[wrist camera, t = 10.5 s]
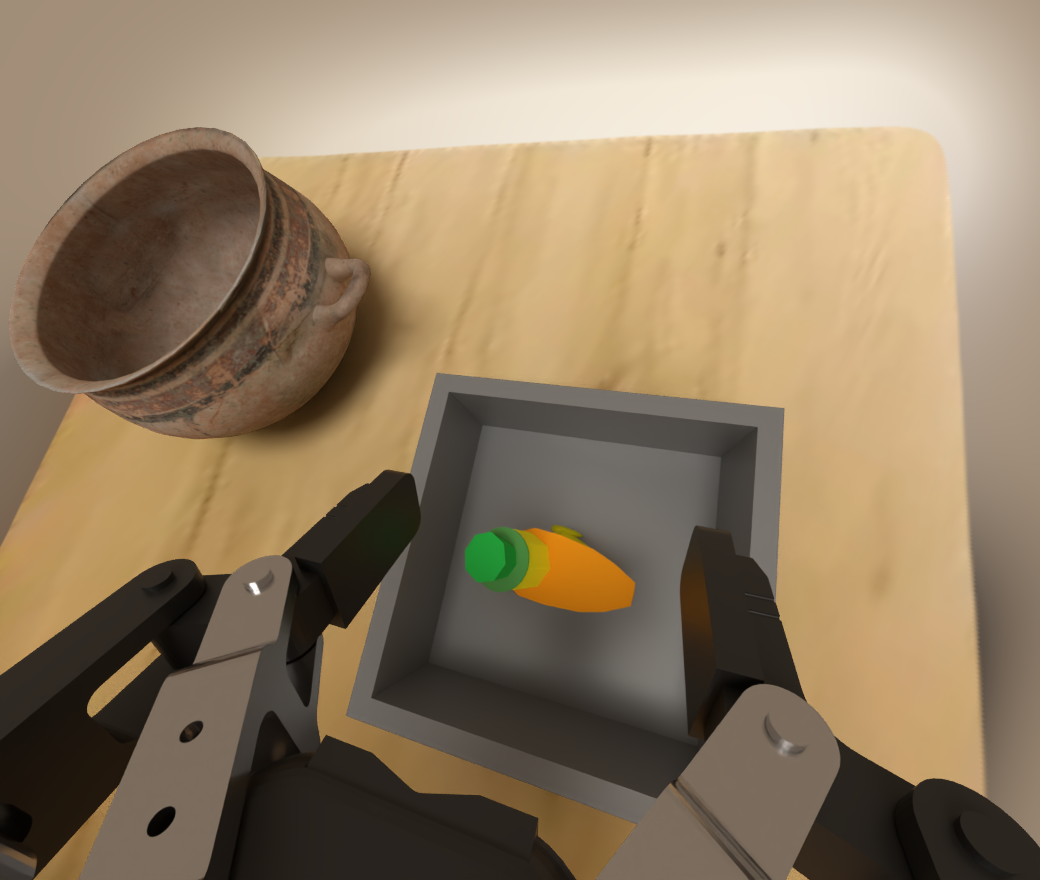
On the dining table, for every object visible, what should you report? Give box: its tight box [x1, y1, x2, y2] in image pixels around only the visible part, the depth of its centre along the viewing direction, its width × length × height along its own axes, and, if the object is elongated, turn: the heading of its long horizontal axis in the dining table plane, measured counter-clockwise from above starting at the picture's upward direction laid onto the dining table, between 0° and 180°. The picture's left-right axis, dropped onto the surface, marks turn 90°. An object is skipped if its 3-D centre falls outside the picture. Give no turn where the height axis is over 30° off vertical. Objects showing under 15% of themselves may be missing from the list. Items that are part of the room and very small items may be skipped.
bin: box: [346, 373, 784, 824], centre depth 21 cm, size 17×17×7 cm
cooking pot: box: [9, 127, 370, 439], centre depth 28 cm, size 25×19×12 cm
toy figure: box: [465, 525, 635, 612], centre depth 17 cm, size 7×4×12 cm, turn 74°
